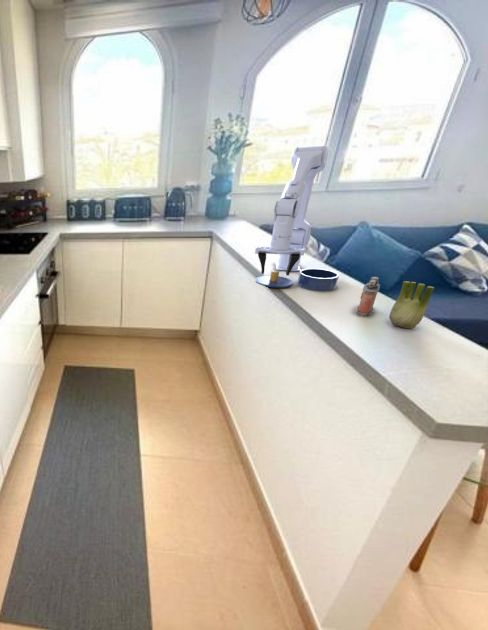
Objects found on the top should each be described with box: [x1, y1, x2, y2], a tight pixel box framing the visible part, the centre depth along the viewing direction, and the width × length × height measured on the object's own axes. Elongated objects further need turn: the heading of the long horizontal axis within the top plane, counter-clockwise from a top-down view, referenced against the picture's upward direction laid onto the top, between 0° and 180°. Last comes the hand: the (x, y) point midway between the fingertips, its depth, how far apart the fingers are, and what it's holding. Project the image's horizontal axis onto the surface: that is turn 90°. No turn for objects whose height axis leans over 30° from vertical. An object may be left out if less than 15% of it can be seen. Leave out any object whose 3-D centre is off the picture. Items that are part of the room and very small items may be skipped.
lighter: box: [355, 276, 381, 317], centre depth 97 cm, size 8×3×10 cm, turn 135°
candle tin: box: [297, 268, 340, 292], centre depth 118 cm, size 11×11×4 cm
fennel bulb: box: [388, 280, 435, 329], centre depth 87 cm, size 6×5×12 cm
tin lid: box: [254, 269, 293, 289], centre depth 122 cm, size 12×12×5 cm
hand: (274, 273), depth 122 cm, fingers open, 7 cm apart
